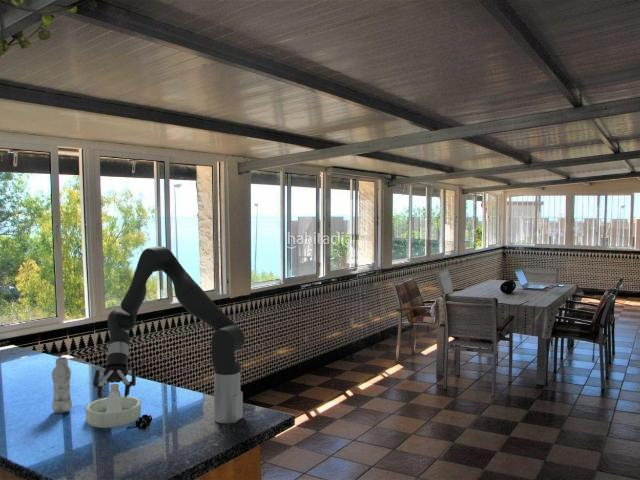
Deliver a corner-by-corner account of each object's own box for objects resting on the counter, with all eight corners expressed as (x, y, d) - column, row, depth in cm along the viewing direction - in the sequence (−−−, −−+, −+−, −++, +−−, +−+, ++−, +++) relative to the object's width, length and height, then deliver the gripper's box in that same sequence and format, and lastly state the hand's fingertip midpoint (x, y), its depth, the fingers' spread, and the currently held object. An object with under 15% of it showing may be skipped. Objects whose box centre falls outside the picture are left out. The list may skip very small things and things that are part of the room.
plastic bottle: (64, 416, 193) (63, 361, 192) (47, 414, 195) (47, 360, 194) (75, 409, 199) (75, 356, 199) (59, 408, 201) (59, 355, 200)
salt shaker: (125, 414, 193) (126, 383, 193) (113, 418, 188) (114, 387, 188) (114, 411, 195) (114, 381, 195) (102, 416, 190) (103, 385, 190)
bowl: (150, 412, 197) (150, 399, 197) (118, 430, 180) (118, 416, 180) (109, 407, 203) (109, 394, 203) (74, 424, 186) (74, 410, 185)
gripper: (96, 352, 196) (90, 393, 186) (136, 350, 199) (133, 390, 189) (98, 363, 202) (93, 403, 191) (138, 361, 205) (135, 400, 194)
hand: (113, 396), depth 190 cm, fingers open, 8 cm apart
